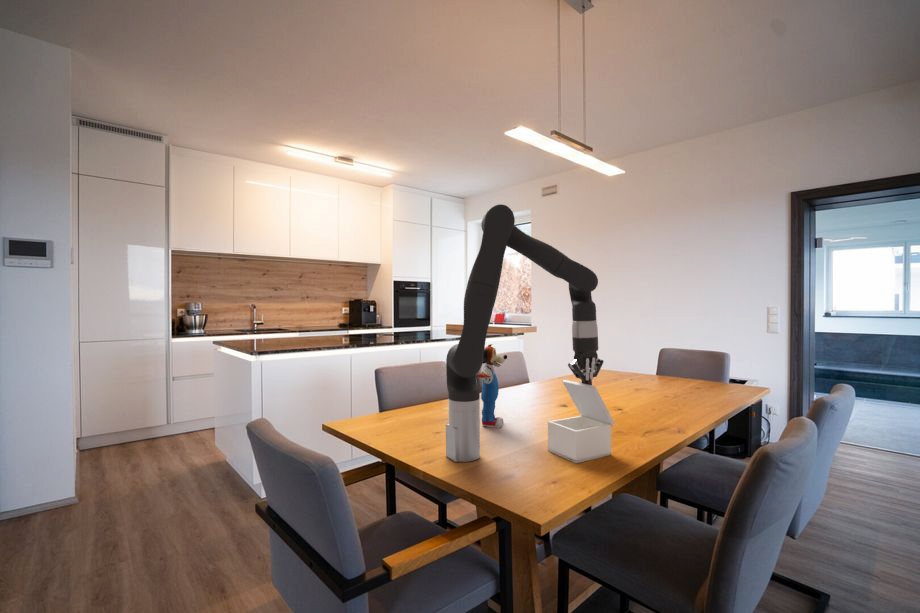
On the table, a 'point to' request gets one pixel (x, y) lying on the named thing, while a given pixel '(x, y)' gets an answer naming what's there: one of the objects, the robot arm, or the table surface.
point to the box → (579, 438)
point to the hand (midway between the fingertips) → (587, 391)
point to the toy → (490, 387)
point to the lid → (588, 401)
